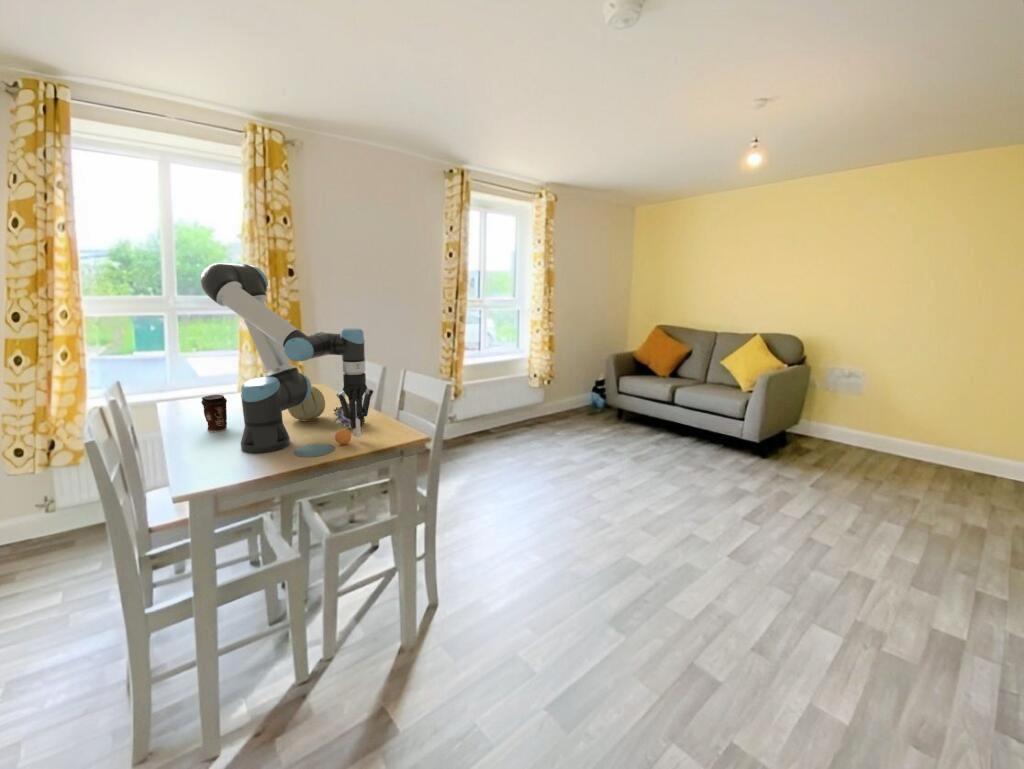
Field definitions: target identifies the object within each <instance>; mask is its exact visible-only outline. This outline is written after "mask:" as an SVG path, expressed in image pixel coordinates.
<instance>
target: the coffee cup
mask: <svg viewBox="0 0 1024 769" xmlns="http://www.w3.org/2000/svg"><path fill="white" fill-rule="evenodd" d="M227 401H228V400H227V398H225V396H224V395H223V394H210V395H205V396H202V397H201V402H200V403H201V405H202V407H203V415H204V418H205V421H206V423H207V432H209V431H213V432H212V433H215V432H214V431H218V432H223V431H222V430H224V431H225V429H226V430H227V428H228V422H227V420H228V417H227Z"/></svg>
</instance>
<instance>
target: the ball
mask: <svg viewBox="0 0 1024 769" xmlns="http://www.w3.org/2000/svg"><path fill="white" fill-rule="evenodd" d="M334 439H335V442H336V443H337V444H339V445H347V444H349V443H350V442H351V440H352V433H351V431H349V429H346V428H342V429H338V430H337V431H336V433H335V435H334Z"/></svg>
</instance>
